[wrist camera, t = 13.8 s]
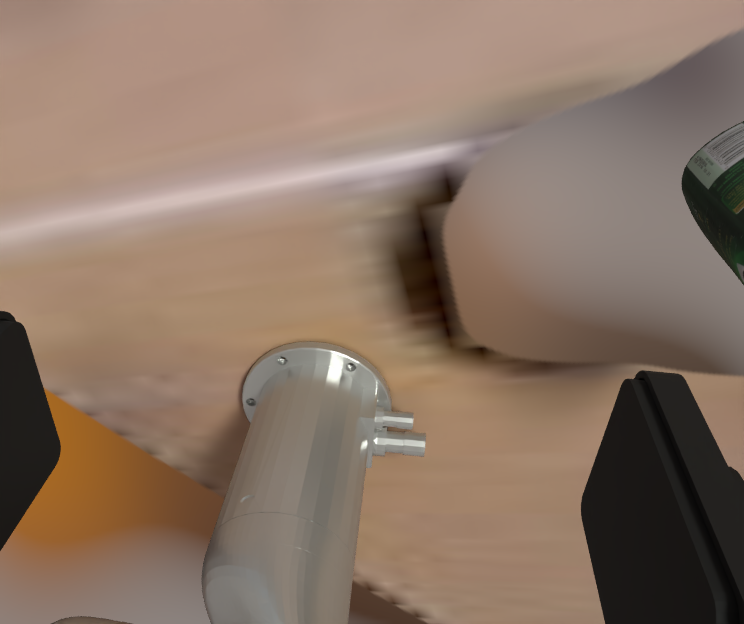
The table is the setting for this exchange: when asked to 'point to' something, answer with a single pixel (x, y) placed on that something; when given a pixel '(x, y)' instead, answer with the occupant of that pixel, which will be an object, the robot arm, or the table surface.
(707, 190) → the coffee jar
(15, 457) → the robot arm
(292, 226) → the table surface
